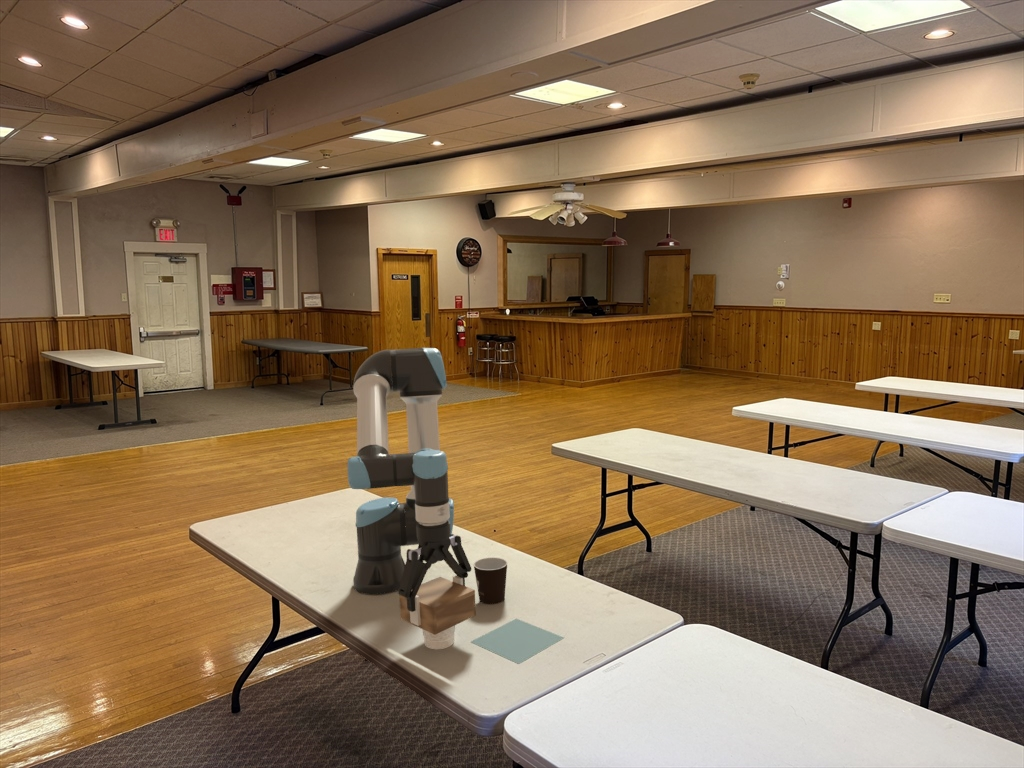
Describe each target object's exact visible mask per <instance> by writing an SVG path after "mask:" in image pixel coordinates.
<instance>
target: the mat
mask: <svg viewBox="0 0 1024 768" xmlns="http://www.w3.org/2000/svg"><path fill="white" fill-rule="evenodd" d="M563 639H565V637H564V636H561V635H559V634H556V633H553V632H551V631H548V630H546V629H543V628H541V627H538V626H536V625H533V624H531V623H528V622H525V621H523V620H521V619H519V618H515V619H512V620H510V621H508V622H507V623H505V624H503V625H501V626H499V627H497V628H494V629H493V630H491V631H489V632H487V633H485V634H483V635H482V636H480V637H477V638H475V639H473V640H471V641H470V643H471V644H474V645H476V646H478V647H480V648H483V649H485V650H487V651H489V652H492V653H494V654H496V655H498V656H500V657H503V658H504V659H506V660H509V661H511V662H514V663H516V664H517V665H519V664H522V663H524V662H525V661H527V660H529V659H531V658H532V657H534V656H535V655H537V654H538V653H541V652H542V651H544V650H546V649H548V648H549V647H551V646H553V645H554V644H556V643H558V642H560V641H562V640H563Z"/></svg>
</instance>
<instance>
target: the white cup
mask: <svg viewBox="0 0 1024 768" xmlns="http://www.w3.org/2000/svg"><path fill="white" fill-rule="evenodd" d="M421 630H422V637H423V643H424V646H425V647H426V648H428V649H432V650H442V649H447V648H450V647H451V646H452V645H453V644H454V643H455V631H456V625H455V626H452V627H450V628H448V629H446V630H444V631H442V632H440V633H438V634H436V635H434V634H432V633H430V632H428V631H426V630H424V629H421Z"/></svg>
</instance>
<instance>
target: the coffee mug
mask: <svg viewBox="0 0 1024 768" xmlns="http://www.w3.org/2000/svg"><path fill="white" fill-rule="evenodd" d="M473 569H474V574H475V581H476V587H477V593H478V599H479V603H482V604H484V605H496V604H499V603H502V602H504V600H505V597H506V583H507V570H508V561H507V560H506V559H504V558H501V557H495V556H493V557H483V558H479V559H477V560H476V561H474V562H473Z"/></svg>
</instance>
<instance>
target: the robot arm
mask: <svg viewBox="0 0 1024 768" xmlns="http://www.w3.org/2000/svg"><path fill="white" fill-rule="evenodd" d="M444 365H445V364H444V361H443V356H442V353H441V351H440V350H439V349H437V348H435V347H417V348H416V347H415V348H414V347H413V348H401V349H400V348H397V349H383V350H380V351H377V352H375V353H373V354H372V355H370V356H369V357H367V359H365V360H364V361H363V362H362V364H361V365H360V366H359V368H358V369H357V371H356V373H355V376H354V380H353V386H352V387H353V394H354V396H355V397H356V399H357V400H356V403H357V405H356V406H357V407H356V410H357V411H356V415H357V417H356V455H355V456H351V457H349V458H348V460H347V465H346V466H347V481H348V482H347V483H348V486H349V488H350V489H352V490H371V489H380V488H391V487H392V488H393V487H407V486H410V490H409V492H408V493H407V494H406V496H405V502H402V503H401V502H400V501H399V500H398V498H396V497H393V496H392V497H389V496H388V497H387V496H386V497H380V498H375V499H372V500H371V499H370V500H369V501H366V502H364V503H363V504H361V505H359V507H358V508H357V509H356V512H355V524H354V525H355V527H356V538H357V539H356V542H357V555H358V557H357V558H358V560H357V563H356V567H355V572H354V575H353V580H352V583H353V589H354V590H355V592H358V593H360V594H363V595H375V596H376V595H385V594H391V593H394V592H395V593H396V592H397V594H398V596H399V595H401V596H403V597H406V598H407V609H408V610H409V611H410V622H411V623H413V624H415V625H417V626H419V625H421V620H420V600H419V596H417V595H416V594H417V592H418V590H419V588H420V586H421V584H423V581H424V578H425V577H426V574H427V572H428V570H429V569H430V568H431V567H432V565H434V564H436V563H437V562H442V561H444V562H445V563H446V565H448V567H449V568H450V569H451V570H452V572H453V573H454V574H455V575H453V576H452V581H453V582H455V583H458V584H460V585H463V586H466V582H465V581H466V579H467V578H468V577H469V573H470V572H471V571H472V566H471V563H470V561H469V559H468V557H467V554H466V552H465V550H464V547H463V546H462V538H461V536H460V535H457V534H453V528H454V521H455V520H454V519H455V511H454V508H455V504H454V500H453V499H452V498H450V497H449V476H448V475H449V474H448V470H449V465H448V460H447V459H448V457H447V454H446V453H445V451H443V450H441V449H440V447H441V445H440V431H439V414H438V413H439V412H438V410H439V409H438V401H439V400H440V399H441V398H442V397H443V390H445V389H447V387H448V383H447V376H446V375H447V374H446V369H445V366H444ZM390 392H393V393H395V392H398V393H399V399H400V400H402V401H403V402H404V403H405V405H406V406H405V407H406V408H405V409H406V410H405V411H406V425H407V441H408V443H407V445H408V453H407V452H406V453H392V454H391V453H390V449H389V447H390V443H389V423H388V419H389V418H388V396H389V395H390ZM415 545H418V546H417V548H415V549H411V548H408V549H407V550H406V562H405V560H404V558H403V555H402V547H405V546H415ZM450 547H451V549H452V552H453V554H454V555H453V554H452V553H451V552H450V550H449V549H450ZM453 556H454V557H455V558H456V559H455V558H454V557H453ZM468 572H469V573H468ZM411 623H410V624H411ZM413 624H412V625H413ZM415 625H414V626H415ZM417 626H416V627H417Z"/></svg>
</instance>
